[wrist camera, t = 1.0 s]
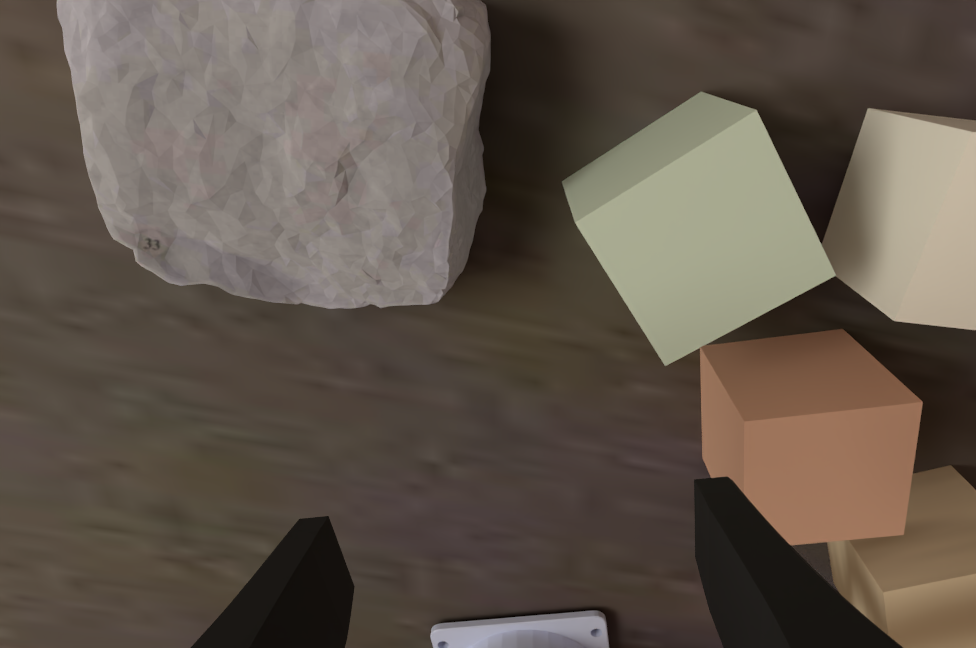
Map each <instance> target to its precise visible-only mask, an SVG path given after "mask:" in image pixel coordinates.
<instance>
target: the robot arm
mask: <svg viewBox="0 0 976 648" xmlns="http://www.w3.org/2000/svg"><path fill="white" fill-rule="evenodd" d="M694 496H695V557H696V561H697V565H698V569H699V573H700V577H701V580H702V584H703V588H704V592H705V595H706V599H707V603H708V607H709V610H710V613H711V615H712V618H713V621H714V623H715V626H716V629H717V631H718V634H719V637H720V639H721V642H722V644H723V647H724V648H903V647H902V646H901V645H900V644H898V643H897V642H896V641H895V640H893V639H892V638H891V637H890V636H888V635H887V634H886V633H885V632H883V631H882V630H881V629H880V628H879V627H877V626H876V625H875V624H874V623H873V622H871V621H870V620H869V619H868V618H867V617H866V616H864V615H863V614H862V613H861V612H860V611H859V610H858V609H856V608H855V607H854V606H853V605H852V604H851V603H850V602H849V601H848V600H846V599H845V598H844V597H843V596H842V595H841V594H840V593H839V592H838V591H837V590H836V589H834V588H833V587H832V586H831V585H830V584H829V583H828V582H827V581H826V580H825V579H824V578H823V577H822V576H821V575H820V574H819V573H817V572H816V571H815V570H814V569H813V568H812V567H811V566H810V565H809V564H808V563H807V562H806V561H805V560H804V559H803V558H802V557H801V556H800V555H799V554H798V553H797V552H796V550H795V549H794V548H793V547H792V546H791V545H790V544H789V543H788V542H787V541H786V540H785V539H784V538H783V537H782V536H781V535H780V534H779V533H778V532H777V531H776V530H775V529H774V527H773V526H772V525H771V524H770V523H769V522H768V521H767V520H766V519H765V518H764V516H763V515H762V514H761V513H760V512H759V511H758V510H757V509H756V507H755V506H754V505H753V504H752V503H751V502H750V500H749V499H748V498H747V497H746V496H745V495H744V493H743V492H742V491H741V490H740V489H739V487H738V486H737V485H736V484H735V482H734V481H733V480H731V479H730V478H729V477H727V476H726V477H716V478H706V479H696V480H694ZM353 593H354V584H353V582H352V579H351V576H350V573H349V571H348V568H347V565H346V563H345V560H344V557H343V554H342V552H341V549H340V546H339V544H338V541H337V538H336V535H335V533H334V530H333V527H332V525H331V522H330V519H329V516H325V517H315V518H305V519H299V520H298V521H297V523H296V524H295V525H294V526H293V527H292V529H291V530H290V531H289V532H288V534H287V535H286V536H285V537H284V538H283V540H282V541H281V542H280V543H279V545H278V546H277V547H276V548H275V550H274V551H273V552H272V553H271V555H270V556H269V557H268V558H267V559H266V561H265V562H264V563H263V564H262V566H261V567H260V568H259V569H258V571H257V572H256V573H255V574H254V576H253V577H252V578H251V579H250V580H249V582H248V583H247V584H246V585H245V586H244V588H243V589H242V590H241V591H240V592H239V594H238V595H237V596H236V597H235V598H234V600H233V601H232V602H231V603H230V604H229V606H228V607H227V608H226V609H225V610H224V611H223V613H222V614H221V615H220V616H219V617H218V618H217V619H216V620H215V621H214V623H213V624H212V625H211V626H210V627H209V628H208V629H207V630H206V631H205V633H204V634H203V635H202V636H201V637H200V638H199V639H198V640H197V641H196V642H195V644H194V645H193V646H192V647H191V648H345V644H346V640H347V635H348V629H349V622H350V616H351V609H352V601H353ZM431 641H432V644H433V648H609V641H608V632H607V623H606V617H605V615H604V614H603V613H602V612H600V611H596V610H592V611H580V612H568V613H556V614H544V615H533V616H521V617H509V618H497V619H486V620H474V621H462V622H450V623H440V624H436V625H434V626H433V627H432V629H431ZM442 641H445V642H442Z"/></svg>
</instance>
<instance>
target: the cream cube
mask: <svg viewBox="0 0 976 648" xmlns="http://www.w3.org/2000/svg"><path fill="white" fill-rule="evenodd" d="M822 247H823V249H824V251H825V253H826V255H827V257H828V259H829V261H830V264H831V266H832V268H833V270H834V272H835V274H836V277H837V278H839V279H840V280H841V281H843V282H844V283H845V284H847V285H848V286H849V287H850V288H852V289H853V290H854V291H856V292H857V293H858V294H860V295H861V296H862V297H863V298H865V299H866V300H867V301H869V302H870V303H871V304H873V305H874V306H875V307H876V308H878V309H879V310H880V311H882V312H883V313H884V314H886V315H887V316H888V317H889V318H891V319H892V320H893V321H898V322H907V323H916V324H925V325H934V326H943V327H952V328H961V329H970V330H976V121H975V120H966V119H958V118H949V117H941V116H932V115H923V114H915V113H906V112H898V111H889V110H880V109H872V108H868V110H867V113H866V116H865V119H864V122H863V124H862V127H861V130H860V133H859V136H858V139H857V142H856V145H855V148H854V151H853V154H852V157H851V160H850V163H849V166H848V169H847V172H846V174H845V177H844V180H843V183H842V186H841V189H840V192H839V195H838V198H837V201H836V204H835V207H834V210H833V213H832V216H831V219H830V222H829V224H828V227H827V230H826V233H825V236H824V239H823V242H822Z"/></svg>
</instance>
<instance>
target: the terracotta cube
mask: <svg viewBox="0 0 976 648" xmlns="http://www.w3.org/2000/svg"><path fill="white" fill-rule="evenodd" d="M700 369H701V413H702V457H703V460H704V462H705V465H706V467H707V469H708V471H709V474H710V476H711V478H716V477H726V476H727V477H729V478H730V479H731V480H733V481H734V482H735V484H736V485H737V486H738V487H739V489H740V490H741V491H742V492H743V493H744V495H745V496H746V497H747V498H748V499H749V500H750V502H751V503H752V504H753V505H754V506H755V507H756V509H757V510H758V511H759V512H760V513H761V514H762V515H763V516H764V518H765V519H766V520H767V521H768V522H769V523H770V524H771V525H772V526H773V527H774V529H775V530H776V531H777V532H778V533H779V534H780V535H781V536H782V537H783V538H784V539H785V540H786V541H787V542H788V543H789V544H790V545H799V544H810V543H821V542H832V541H843V540H854V539H865V538H876V537H887V536H898V535H904V530H905V523H906V516H907V509H908V502H909V495H910V488H911V481H912V474H913V467H914V460H915V453H916V446H917V440H918V433H919V426H920V419H921V412H922V405H923V402H922V401H921V400H920V399H919V398H918V397H917V396H916V395H915V394H914V393H912V392H911V391H910V390H909V389H908V388H907V387H906V386H905V385H904V384H903V383H902V382H900V381H899V380H898V379H897V378H896V377H895V376H894V375H893V374H892V373H891V372H889V371H888V370H887V369H886V368H885V367H884V366H883V365H882V364H881V363H880V362H879V361H877V360H876V359H875V358H874V357H873V356H872V355H871V354H870V353H869V352H868V351H866V350H865V349H864V348H863V347H862V346H861V345H860V344H859V343H858V342H857V341H855V340H854V339H853V338H852V337H851V336H850V335H849V334H848V333H847V332H846V331H845V330H843V329H838V330H830V331H821V332H813V333H805V334H797V335H789V336H780V337H772V338H764V339H756V340H748V341H739V342H731V343H723V344H715V345H706V346H702V347H700Z"/></svg>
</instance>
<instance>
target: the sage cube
mask: <svg viewBox="0 0 976 648" xmlns="http://www.w3.org/2000/svg"><path fill="white" fill-rule="evenodd" d="M562 184H563V188H564V191H565V194H566V197H567V200H568V203H569V206H570V209H571V212H572V215H573V218H574V221H575V223H576V225H577V227H578V228H579V230H580V231H581V233H582V235H583V236H584V238H585V239H586V241H587V243H588V244H589V246H590V247H591V249H592V250H593V252H594V254H595V255H596V257H597V258H598V260H599V262H600V263H601V265H602V266H603V268H604V270H605V271H606V273H607V274H608V276H609V277H610V279H611V281H612V282H613V284H614V285H615V287H616V289H617V290H618V292H619V293H620V295H621V297H622V298H623V300H624V301H625V303H626V304H627V306H628V308H629V309H630V311H631V312H632V314H633V316H634V317H635V319H636V320H637V322H638V324H639V325H640V327H641V328H642V330H643V331H644V333H645V335H646V336H647V338H648V339H649V341H650V343H651V344H652V346H653V347H654V349H655V351H656V352H657V354H658V355H659V357H660V358H661V360H662V362H663V363H664V365H665V366H666V365H668V364H670V363H672V362H674V361H676V360H678V359H680V358H681V357H683V356H685V355H687V354H689V353H691V352H693V351H695V350H697V349H698V348H700V347H702V346H704V345H706V344H708V343H710V342H712V341H714V340H715V339H717V338H719V337H721V336H723V335H725V334H727V333H729V332H730V331H732V330H734V329H736V328H738V327H740V326H742V325H744V324H746V323H747V322H749V321H751V320H753V319H755V318H757V317H759V316H761V315H763V314H764V313H766V312H768V311H770V310H772V309H774V308H776V307H778V306H779V305H781V304H783V303H785V302H787V301H789V300H791V299H793V298H795V297H796V296H798V295H800V294H802V293H804V292H806V291H808V290H810V289H812V288H813V287H815V286H817V285H819V284H821V283H823V282H825V281H827V280H828V279H830V278H832V277H834V276H836V274H835V272H834V270H833V268H832V266H831V264H830V261H829V259H828V257H827V255H826V253H825V251H824V249H823V247H822V245H821V243H820V241H819V239H818V237H817V234H816V232H815V230H814V228H813V226H812V224H811V222H810V220H809V218H808V216H807V214H806V212H805V209H804V207H803V205H802V203H801V201H800V199H799V197H798V195H797V193H796V191H795V189H794V187H793V185H792V182H791V180H790V178H789V176H788V174H787V172H786V170H785V168H784V166H783V164H782V162H781V160H780V157H779V155H778V153H777V151H776V149H775V147H774V145H773V143H772V141H771V139H770V137H769V135H768V133H767V130H766V128H765V126H764V124H763V122H762V120H761V118H760V116H759V114H758V112H757V110H755V109H752V108H749V107H746V106H743V105H740V104H737V103H734V102H731V101H728V100H725V99H722V98H719V97H716V96H713V95H710V94H707V93H704V92H700V93H698V94H697V95H695V96H694V97H692V98H691V99H689V100H687V101H686V102H684V103H683V104H681V105H680V106H678V107H677V108H675V109H673V110H672V111H670V112H669V113H667V114H666V115H664V116H663V117H661V118H659V119H658V120H656V121H655V122H653V123H652V124H650V125H649V126H647V127H645V128H644V129H642V130H641V131H639V132H638V133H636V134H635V135H633V136H631V137H630V138H628V139H627V140H625V141H624V142H622V143H621V144H619V145H617V146H616V147H614V148H613V149H611V150H610V151H608V152H607V153H605V154H603V155H602V156H600V157H599V158H597V159H596V160H594V161H593V162H591V163H589V164H588V165H586V166H585V167H583V168H582V169H580V170H579V171H577V172H575V173H574V174H572V175H571V176H569V177H568V178H566V179H565V180H563V181H562Z"/></svg>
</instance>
